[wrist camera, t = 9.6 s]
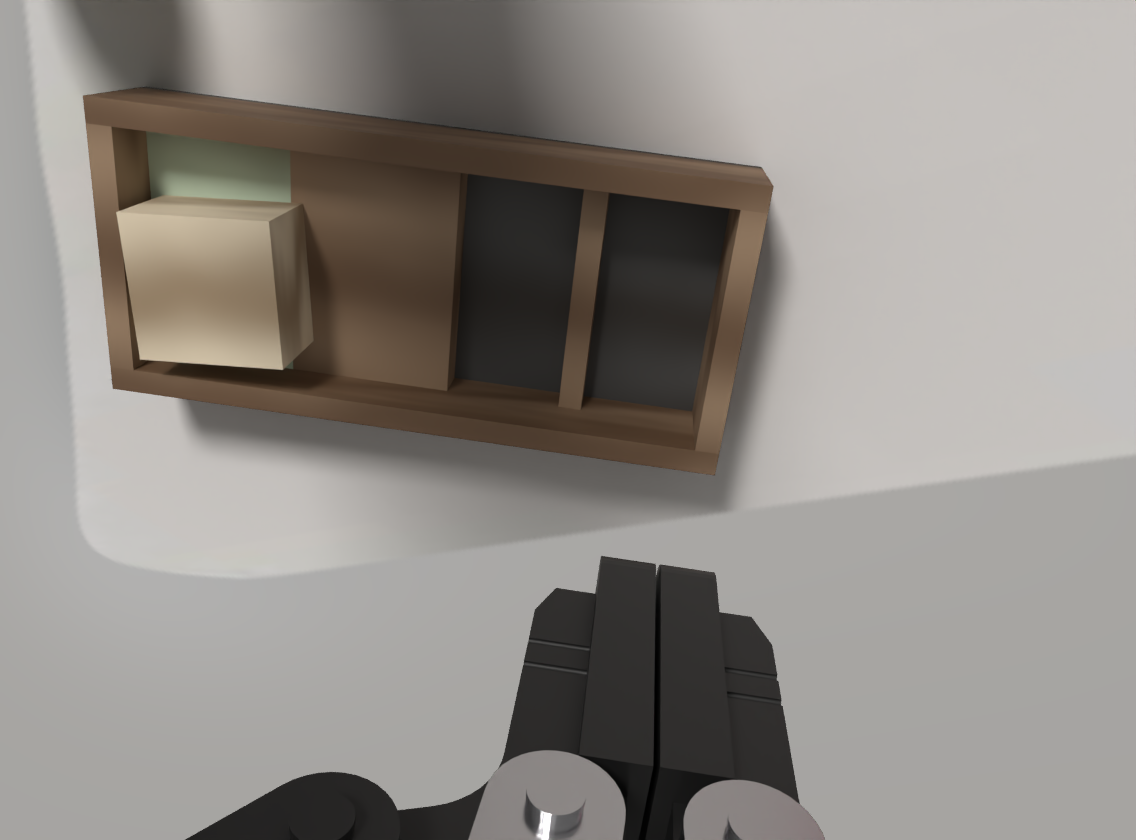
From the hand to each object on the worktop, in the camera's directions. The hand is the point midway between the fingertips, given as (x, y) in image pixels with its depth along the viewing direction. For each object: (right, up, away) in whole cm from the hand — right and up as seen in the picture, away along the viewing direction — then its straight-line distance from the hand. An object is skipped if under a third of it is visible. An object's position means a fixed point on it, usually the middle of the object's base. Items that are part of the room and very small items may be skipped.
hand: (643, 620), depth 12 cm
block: (-15, +9, +27) cm, 32 cm away
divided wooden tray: (-7, +9, +28) cm, 31 cm away
